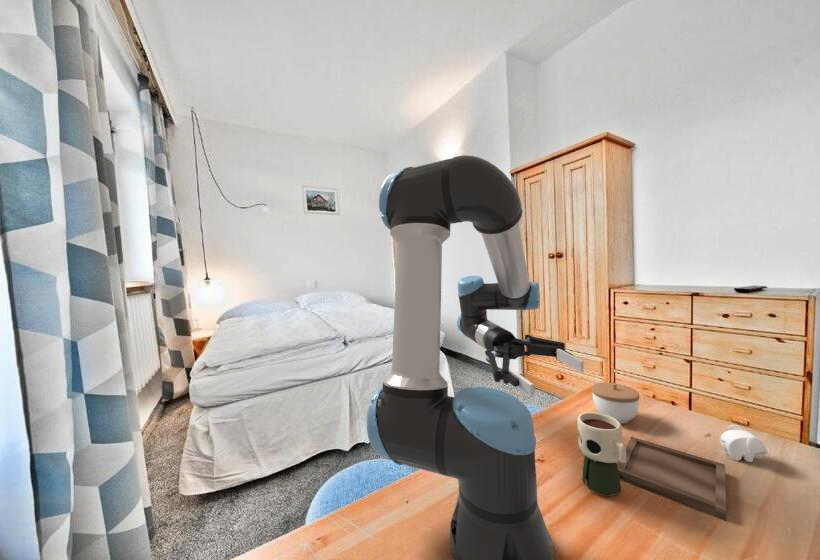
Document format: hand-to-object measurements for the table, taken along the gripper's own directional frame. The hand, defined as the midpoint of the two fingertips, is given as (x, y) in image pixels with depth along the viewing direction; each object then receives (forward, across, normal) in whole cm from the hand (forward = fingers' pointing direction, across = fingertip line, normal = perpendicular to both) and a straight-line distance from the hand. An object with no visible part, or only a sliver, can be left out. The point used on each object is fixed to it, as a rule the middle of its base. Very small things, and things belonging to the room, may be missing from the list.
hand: (558, 378), depth 62 cm
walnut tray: (+14, -13, -20) cm, 28 cm away
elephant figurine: (+17, -32, -24) cm, 43 cm away
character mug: (+10, +1, -18) cm, 21 cm away
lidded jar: (-5, -25, -26) cm, 37 cm away
